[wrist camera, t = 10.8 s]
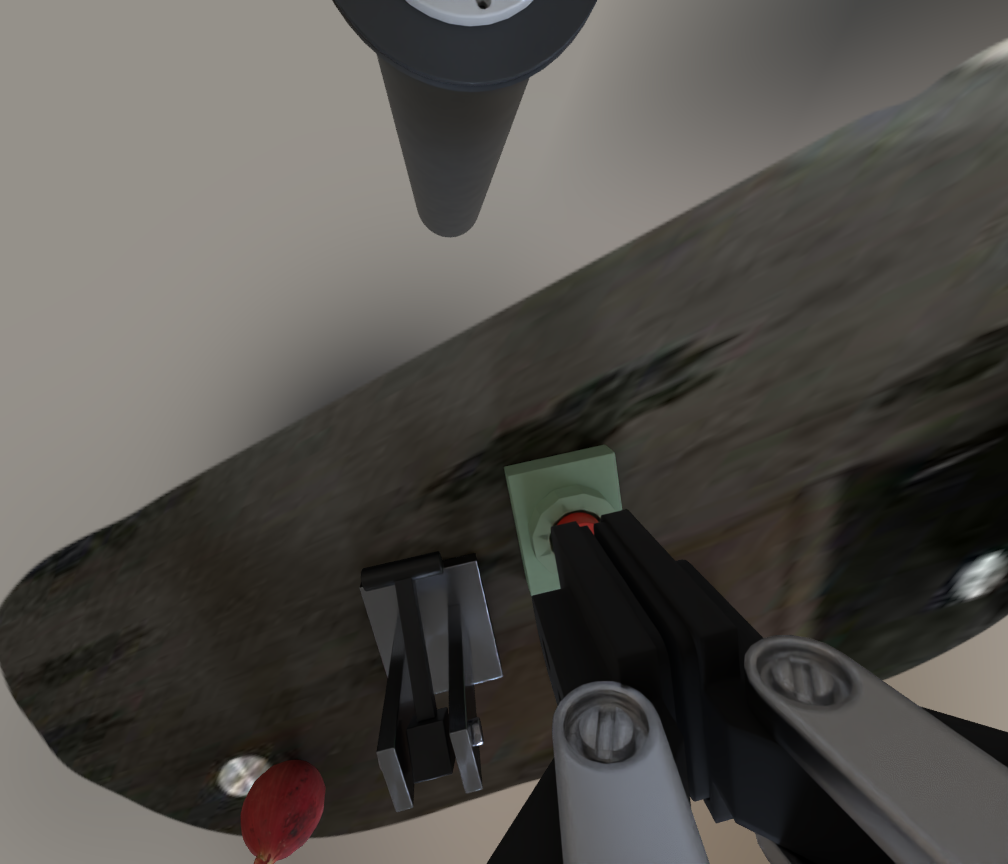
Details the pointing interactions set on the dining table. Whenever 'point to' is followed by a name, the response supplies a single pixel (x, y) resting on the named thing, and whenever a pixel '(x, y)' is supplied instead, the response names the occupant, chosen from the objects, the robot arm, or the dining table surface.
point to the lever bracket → (435, 668)
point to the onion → (282, 810)
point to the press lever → (417, 665)
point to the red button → (580, 520)
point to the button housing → (558, 503)
